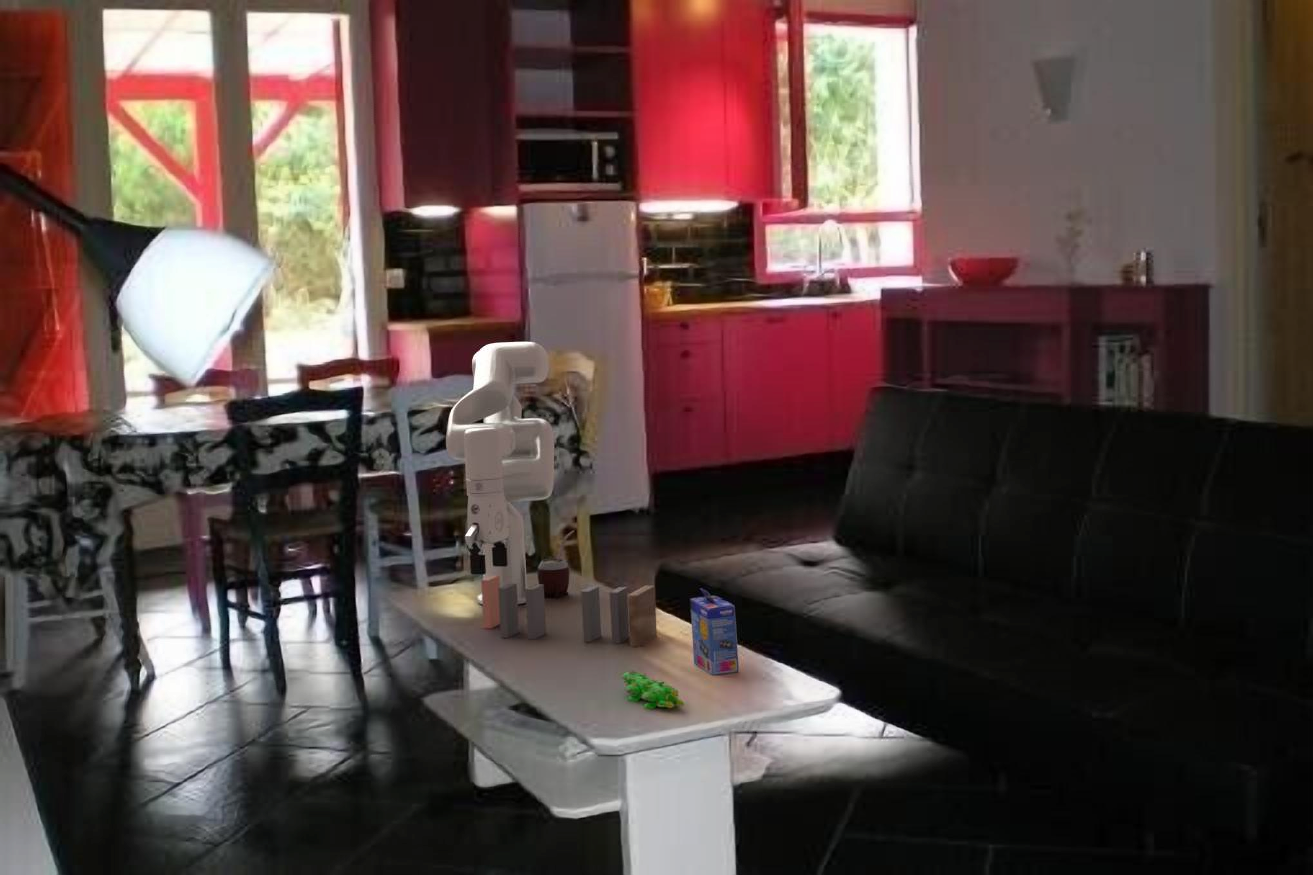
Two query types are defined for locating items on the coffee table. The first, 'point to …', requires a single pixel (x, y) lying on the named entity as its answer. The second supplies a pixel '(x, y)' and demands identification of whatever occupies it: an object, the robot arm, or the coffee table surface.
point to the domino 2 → (508, 610)
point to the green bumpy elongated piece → (650, 691)
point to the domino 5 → (619, 615)
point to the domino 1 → (491, 601)
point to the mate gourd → (554, 574)
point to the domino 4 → (591, 613)
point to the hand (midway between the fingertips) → (489, 570)
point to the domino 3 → (535, 611)
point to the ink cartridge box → (714, 634)
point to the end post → (642, 616)
